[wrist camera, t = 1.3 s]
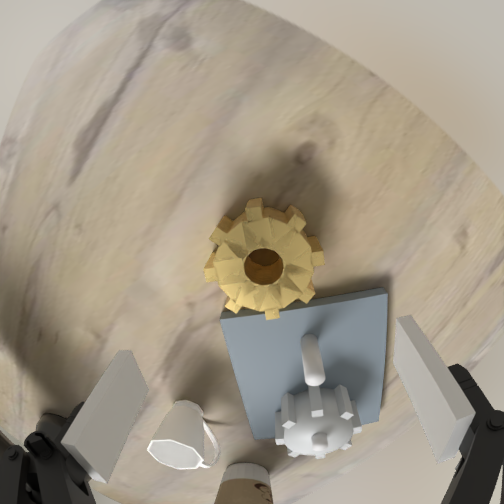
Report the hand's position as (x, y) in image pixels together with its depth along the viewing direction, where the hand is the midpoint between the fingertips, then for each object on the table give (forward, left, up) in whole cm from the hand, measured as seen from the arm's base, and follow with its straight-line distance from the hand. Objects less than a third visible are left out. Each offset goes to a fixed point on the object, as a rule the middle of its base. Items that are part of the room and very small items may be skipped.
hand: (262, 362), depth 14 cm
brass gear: (0, 0, -17) cm, 17 cm away
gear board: (+3, -16, -17) cm, 23 cm away
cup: (-13, -22, -17) cm, 31 cm away
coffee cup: (-9, -38, -17) cm, 42 cm away
